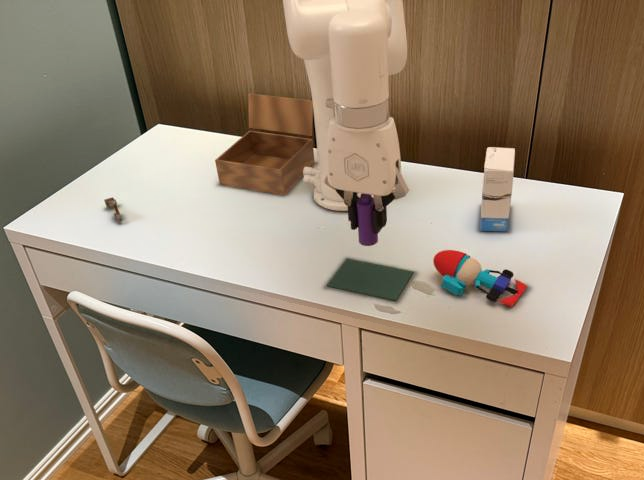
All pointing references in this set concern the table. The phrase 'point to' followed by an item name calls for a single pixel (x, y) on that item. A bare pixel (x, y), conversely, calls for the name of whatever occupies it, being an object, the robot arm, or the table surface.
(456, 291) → the toy figure
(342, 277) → the drawing mat
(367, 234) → the purple bottle
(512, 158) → the ink box
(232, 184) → the brown wooden open box
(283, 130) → the wooden box lid
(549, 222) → the table surface
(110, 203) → the wooden post with brackets
